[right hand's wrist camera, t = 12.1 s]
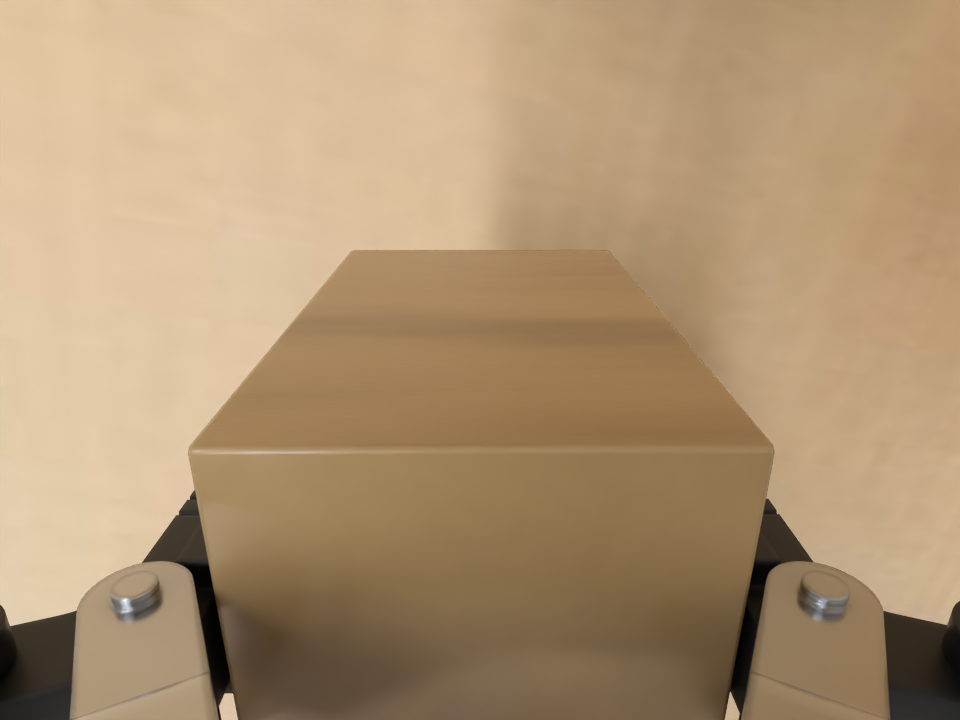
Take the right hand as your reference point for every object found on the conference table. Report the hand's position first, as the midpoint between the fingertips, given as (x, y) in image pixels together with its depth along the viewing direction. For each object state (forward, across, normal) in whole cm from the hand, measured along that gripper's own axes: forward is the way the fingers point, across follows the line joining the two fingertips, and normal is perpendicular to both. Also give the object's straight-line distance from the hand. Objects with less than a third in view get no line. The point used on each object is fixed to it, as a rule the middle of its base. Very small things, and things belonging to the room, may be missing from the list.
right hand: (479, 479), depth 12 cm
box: (+6, 0, -7) cm, 9 cm away
